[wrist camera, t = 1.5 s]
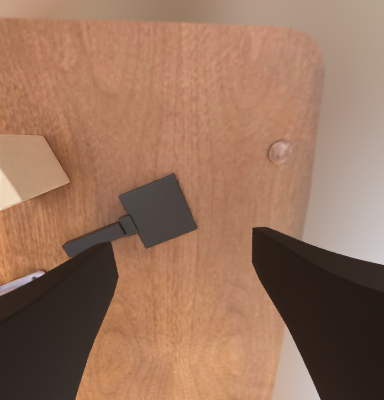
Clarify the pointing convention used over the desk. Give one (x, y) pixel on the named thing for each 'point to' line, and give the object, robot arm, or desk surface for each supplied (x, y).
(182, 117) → the desk surface
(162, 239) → the spatula
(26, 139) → the cream block
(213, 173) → the desk surface
